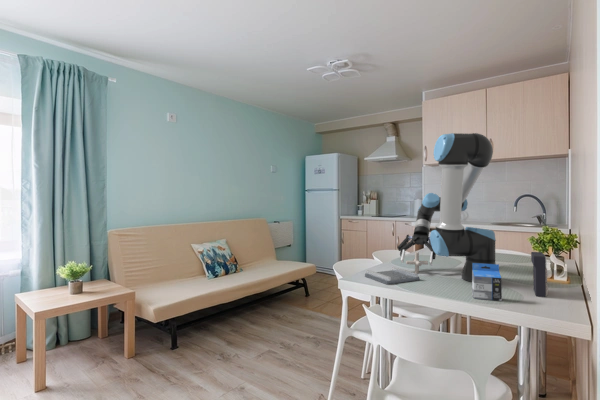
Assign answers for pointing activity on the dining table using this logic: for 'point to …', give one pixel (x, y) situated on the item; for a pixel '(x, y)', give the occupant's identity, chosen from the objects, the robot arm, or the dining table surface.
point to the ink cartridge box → (486, 282)
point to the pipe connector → (417, 262)
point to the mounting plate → (392, 276)
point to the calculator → (539, 274)
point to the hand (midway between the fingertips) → (415, 262)
